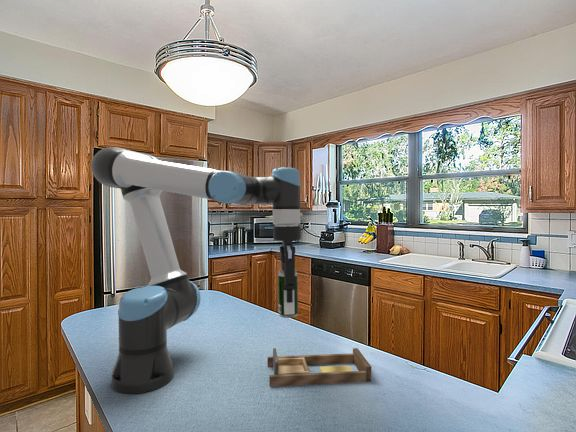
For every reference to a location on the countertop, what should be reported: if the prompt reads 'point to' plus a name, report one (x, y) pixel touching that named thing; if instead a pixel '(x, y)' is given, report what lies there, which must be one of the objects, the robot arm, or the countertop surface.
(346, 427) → the countertop surface
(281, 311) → the beer can
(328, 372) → the tray
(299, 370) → the wooden square tray
